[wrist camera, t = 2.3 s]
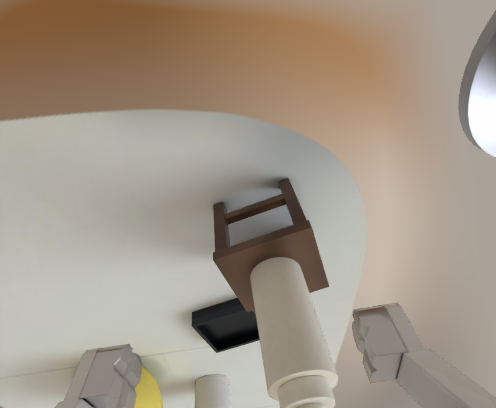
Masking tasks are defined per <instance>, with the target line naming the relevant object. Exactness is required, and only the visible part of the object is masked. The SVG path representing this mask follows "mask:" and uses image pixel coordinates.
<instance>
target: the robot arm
mask: <svg viewBox="0 0 496 408" xmlns="http://www.w3.org/2000/svg"><path fill="white" fill-rule="evenodd" d="M353 318H354V320H355V321H354V322H353V323H352V330H353V336H354V339H355V342H356V346H357V348H358V350H359V351H360V352H361V353H362V354H363V365H364V368H365V370H366V373H367V376H368V378H369V381H370V383H376V382H385V381H394V380H396V382H397V383H398V384H399V385H400V386H401V387H402V388H403V389H404V390H405V391H406V392H407V393H408V394H409V395H410V396H411V397H412V398H413V399H414V400H415V401H416V402H417V403H418V404H419V405H420V406H421V407H422V408H496V397H494V396H493V395H492V394H490V393H489V392H488V391H486V390H485V389H484V388H482V387H481V386H479V385H478V384H477V383H475V382H474V381H473V380H471V379H470V378H468V377H467V376H466V375H464V374H463V373H462V372H460V371H459V370H457V369H456V368H455V367H454V366H452V365H451V364H450V363H448V362H447V361H445V360H444V359H443V358H441V357H440V356H439V355H437V354H436V353H435V352H433V351H432V350H431V349H429V350H425V348H424V346H423V345H422V343H421V341H420V339H419V337H418V335H417V334H416V332H415V330H414V328H413V326H412V325H411V323H410V321H409V319H408V318H407V316H406V314H405V313H404V311H403V309H402V307H401V306H400V305H399V304H398V303H393V304H386V305H379V306H373V307H367V308H361V309H356V310H354V311H353ZM132 349H133V348H132V347H131V346H130V345H129V344H126V345H119V346H112V347H106V348H98V349H92V350H86V352H85V353H84V354H83V355H82V357H81V360H80V362H79V365H78V367H77V370H76V372H75V374H74V377H73V379H72V382H71V384H70V387H69V389H68V392H67V394H66V397H65V399H64V401H62V402H59V403H58V404H57V405H56V406H55V408H134V405H135V401H136V397H137V394H136V391H135V389H134V388H135V387H136V386H137V384H138V383H139V382H140V379H141V374H142V363H141V359H140V357H139V356H138V355H137V354H134V353H132Z"/></svg>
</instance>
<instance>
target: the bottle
mask: <svg viewBox="0 0 496 408" xmlns="http://www.w3.org/2000/svg"><path fill="white" fill-rule="evenodd" d="M250 280H251V287H252V293H253V300H254V306H255V313H256V319H257V325H258V332H259V338H260V345H261V351H262V358H263V364H264V370H265V377H266V383H267V390H268V394H269V396H270V397H271V398H272V399H274V400H277V401H279V403H280V408H333V407H334V406H335V399H334V396H333V393H332V389H333V388H334V387H335V386H336V384H337V382H338V376H337V373H336V370H335V367H334V364H333V362H332V359H331V356H330V353H329V350H328V347H327V344H326V341H325V338H324V335H323V332H322V329H321V326H320V323H319V320H318V317H317V314H316V311H315V308H314V305H313V302H312V299H311V296H310V293H309V290H308V287H307V285H306V282H305V279H304V276H303V273H302V270H301V267H300V265H299V264H298V263H297V262H296V261H295V260H293V259H290V258H286V257H275V258H270V259H267V260H265V261H263V262H261V263H259V264H258V265H257V266H256V267H255V268H254V269H253V270H252V272H251V275H250Z"/></svg>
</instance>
